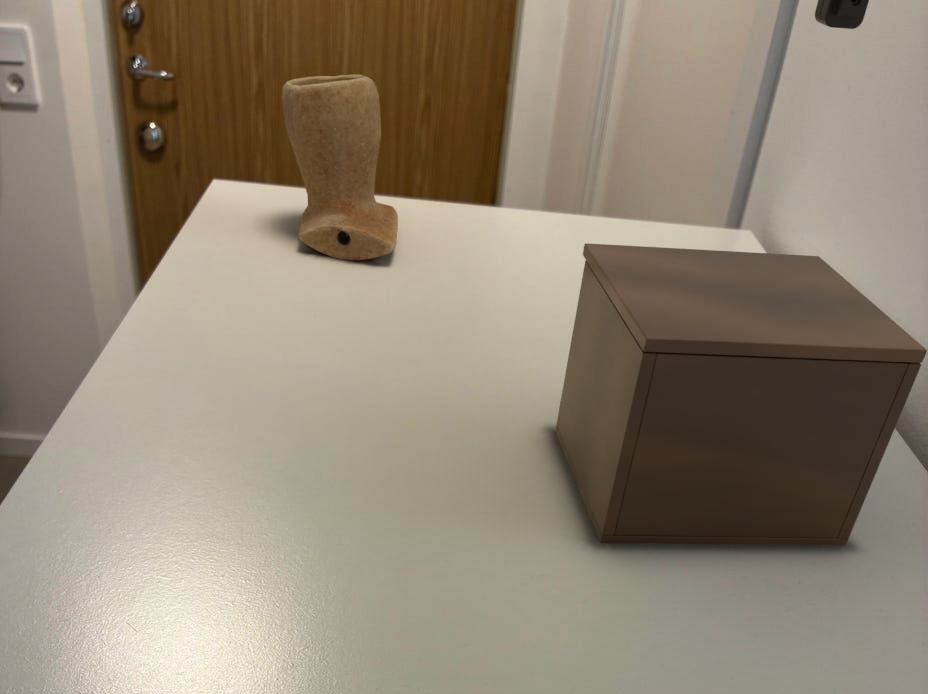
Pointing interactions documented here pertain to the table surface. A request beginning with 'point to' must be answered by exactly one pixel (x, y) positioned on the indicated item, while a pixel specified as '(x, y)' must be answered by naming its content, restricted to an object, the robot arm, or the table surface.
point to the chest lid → (745, 305)
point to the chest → (720, 437)
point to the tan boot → (339, 165)
